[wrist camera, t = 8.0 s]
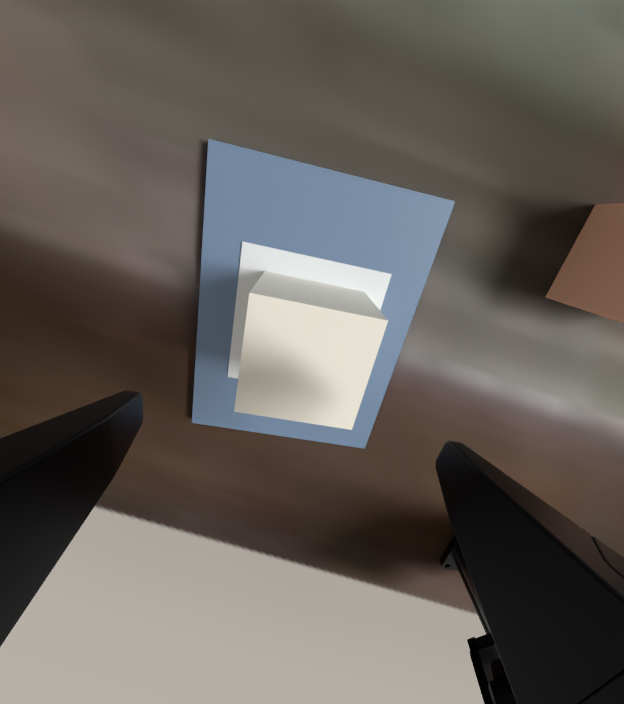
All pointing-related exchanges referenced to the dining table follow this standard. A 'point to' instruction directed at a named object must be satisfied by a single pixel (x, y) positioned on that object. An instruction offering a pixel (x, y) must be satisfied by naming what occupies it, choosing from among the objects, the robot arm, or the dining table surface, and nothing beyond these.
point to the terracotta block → (595, 266)
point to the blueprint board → (304, 268)
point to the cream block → (307, 351)
